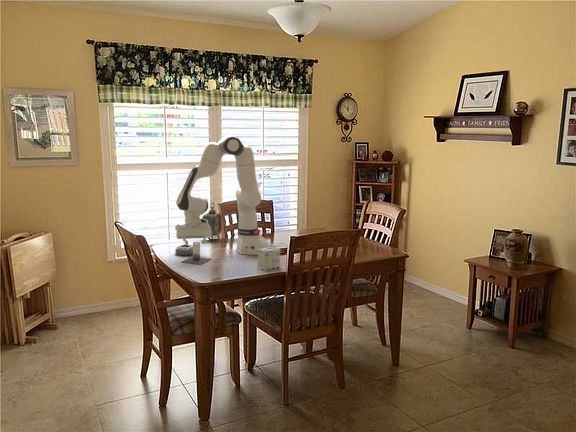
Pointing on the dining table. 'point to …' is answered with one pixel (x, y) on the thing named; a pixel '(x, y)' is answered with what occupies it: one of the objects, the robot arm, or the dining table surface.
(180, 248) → the chuck block
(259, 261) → the light bulb box
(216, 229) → the tabletop clock
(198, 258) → the key rod
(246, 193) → the robot arm
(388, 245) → the dining table surface
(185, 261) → the mat
